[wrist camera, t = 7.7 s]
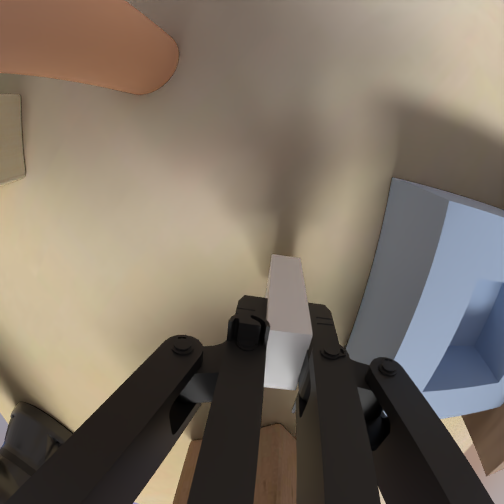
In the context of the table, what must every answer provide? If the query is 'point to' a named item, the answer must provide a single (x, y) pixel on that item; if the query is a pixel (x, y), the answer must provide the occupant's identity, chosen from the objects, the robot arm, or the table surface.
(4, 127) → the toy refrigerator
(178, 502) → the wooden block
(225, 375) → the robot arm
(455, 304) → the socket block
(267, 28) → the table surface
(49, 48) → the dowel
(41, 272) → the table surface
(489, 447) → the wall
